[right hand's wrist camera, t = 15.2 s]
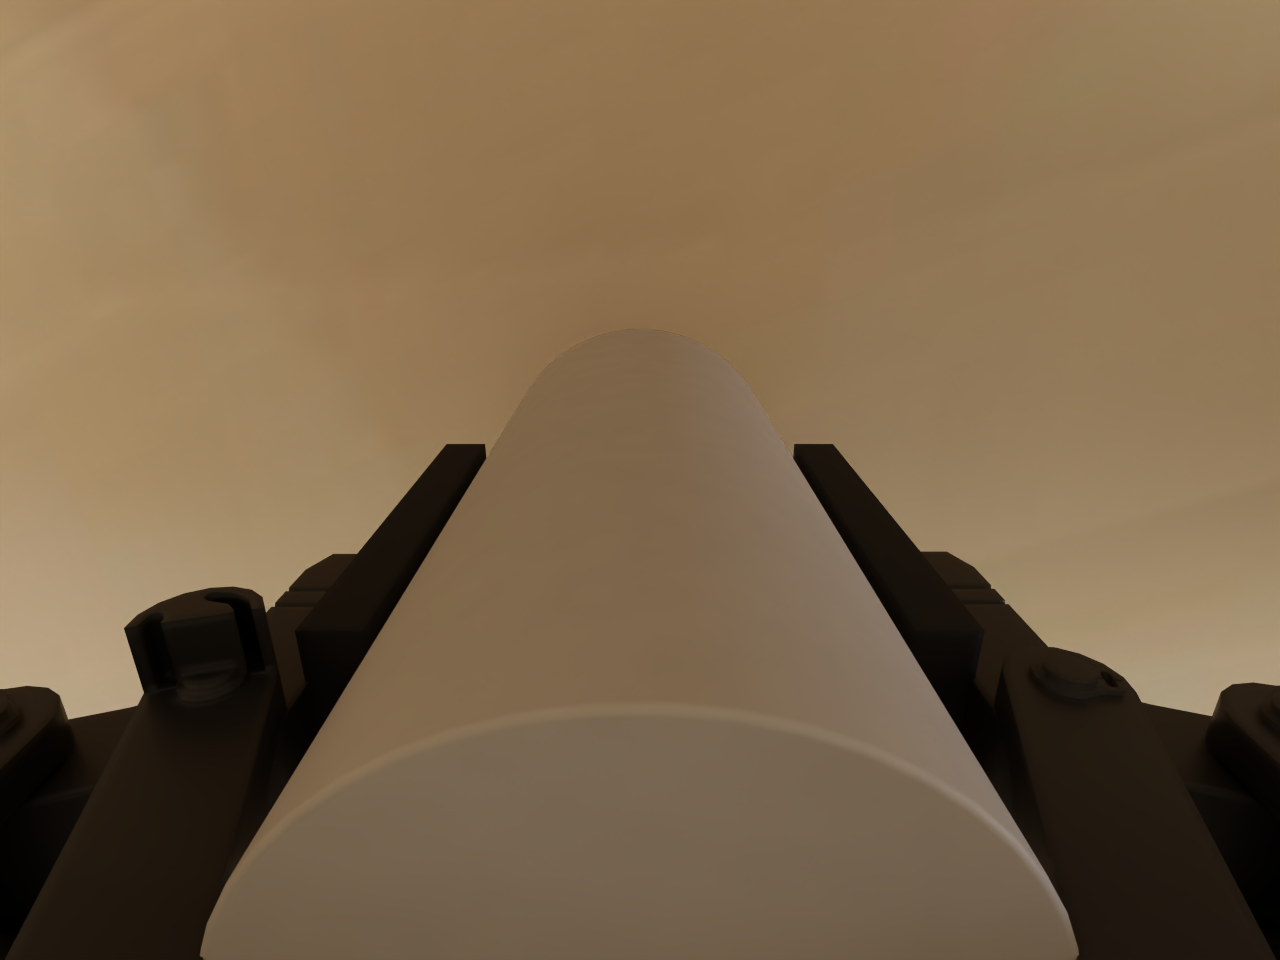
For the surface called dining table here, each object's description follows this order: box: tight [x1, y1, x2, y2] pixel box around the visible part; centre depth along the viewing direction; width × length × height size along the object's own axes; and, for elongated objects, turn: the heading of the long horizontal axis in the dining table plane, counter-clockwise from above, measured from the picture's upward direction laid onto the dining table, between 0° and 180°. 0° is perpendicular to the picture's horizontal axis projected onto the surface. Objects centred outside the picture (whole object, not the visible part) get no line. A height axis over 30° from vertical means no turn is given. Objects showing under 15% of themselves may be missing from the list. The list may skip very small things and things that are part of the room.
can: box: [200, 329, 1079, 960], centre depth 11 cm, size 6×6×13 cm
